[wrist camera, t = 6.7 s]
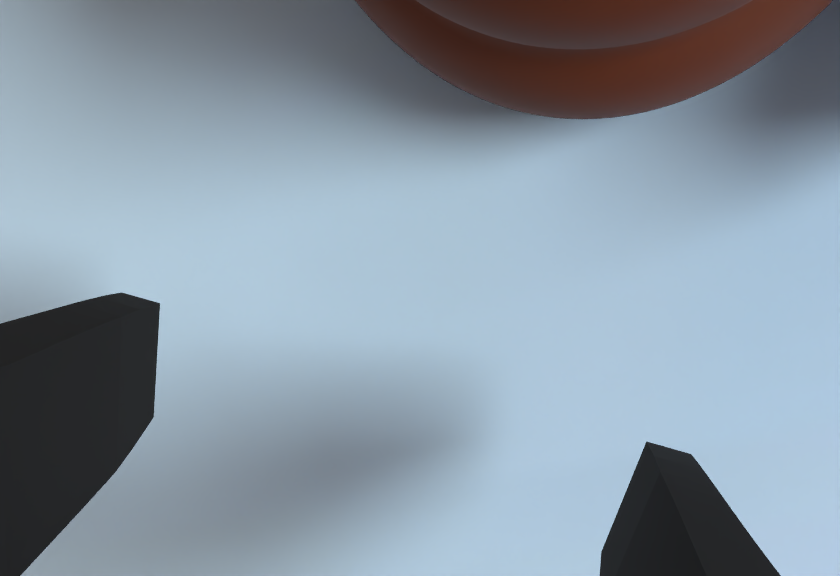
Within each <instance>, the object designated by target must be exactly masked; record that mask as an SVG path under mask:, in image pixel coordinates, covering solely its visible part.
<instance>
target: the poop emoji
mask: <svg viewBox="0 0 840 576" xmlns="http://www.w3.org/2000/svg"><path fill="white" fill-rule="evenodd" d="M355 1H356V2H357V3H358V5H359V6H360V7H361V8H362V9H363V10H364V12H365V13H366V14H367V15H368V16H369V17H370V18H371V20H372V21H373V22H374V23H375V24H376V25H377V26H378V27H379V28H380V29H381V30H382V31H383V32H384V33H385V34H386V35H387V36H388V37H389V38H390V39H391V40H392V41H393V42H395V43H396V44H397V45H398V46H399V47H400V48H401V49H403V50H404V51H405V52H406V53H407V54H409V55H410V56H411V57H412V58H414V59H415V60H416V61H417V62H419V63H420V64H421V65H423V66H424V67H425V68H427V69H428V70H430V71H431V72H433V73H434V74H436V75H437V76H439V77H440V78H442V79H443V80H445V81H447V82H449V83H450V84H452V85H454V86H456V87H458V88H460V89H461V90H463V91H465V92H467V93H469V94H472V95H474V96H476V97H478V98H481V99H483V100H486V101H488V102H491V103H494V104H496V105H499V106H502V107H505V108H509V109H512V110H516V111H520V112H524V113H529V114H534V115H539V116H546V117H554V118H565V119H600V118H611V117H620V116H626V115H632V114H637V113H642V112H647V111H651V110H655V109H658V108H662V107H665V106H668V105H672V104H675V103H677V102H680V101H683V100H686V99H688V98H691V97H693V96H696V95H698V94H700V93H703V92H705V91H707V90H709V89H712V88H714V87H716V86H718V85H720V84H722V83H724V82H726V81H727V80H729V79H731V78H733V77H735V76H737V75H738V74H740V73H742V72H743V71H745V70H747V69H748V68H750V67H752V66H753V65H755V64H756V63H758V62H759V61H761V60H762V59H764V58H765V57H767V56H768V55H769V54H771V53H772V52H773V51H775V50H776V49H778V48H779V47H780V46H782V45H783V44H784V43H785V42H787V41H788V40H789V39H790V38H792V37H793V36H794V35H795V34H797V33H798V32H799V31H800V30H802V29H803V28H804V27H805V26H806V25H807V24H808V23H810V22H811V21H812V20H813V19H814V18H815V17H816V16H817V15H818V14H820V13H821V12H822V11H823V10H824V9H825V8H826V7H827V6H828V5H829V4H830V3H831V2H832V1H833V0H355Z"/></svg>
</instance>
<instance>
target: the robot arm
mask: <svg viewBox="0 0 840 576" xmlns="http://www.w3.org/2000/svg"><path fill="white" fill-rule="evenodd" d="M159 310H160V303H156V302H153V301H149V300H146V299H142V298H139V297H135V296H132V295H128V294H125V293H117V294H111V295H106V296H101V297H97V298H93V299H89V300H85V301H81V302H77V303H73V304H70V305H66V306H62V307H59V308H55V309H52V310H48V311H45V312H41V313H37V314H34V315H30V316H27V317H23V318H19V319H16V320H12V321H9V322H5V323H1V324H0V576H20V575H21V574H22V573H23V572H24V571H25V570H26V569H27V568H28V567H29V566H30V564H31V563H32V562H33V561H34V560H35V559H36V558H37V557H38V556H39V555H40V554H41V553H42V552H43V550H44V549H45V548H46V547H47V546H48V545H49V544H50V543H51V542H52V541H53V540H54V539H55V538H56V536H57V535H58V534H59V533H60V532H61V531H62V530H63V529H64V528H65V527H66V526H67V525H68V524H69V522H70V521H71V520H72V519H73V518H74V517H75V516H76V515H77V514H78V513H79V512H80V511H81V509H82V508H83V507H84V506H85V505H86V504H87V503H88V502H89V501H90V500H91V499H92V497H93V496H94V495H95V494H96V493H97V492H98V491H99V490H100V489H101V488H102V486H103V485H104V484H105V483H106V482H107V481H108V480H109V479H110V477H111V476H112V475H113V474H114V473H115V472H116V471H117V469H118V468H119V467H120V465H121V464H122V462H123V461H124V460H125V458H126V457H127V455H128V454H129V453H130V451H131V450H132V448H133V447H134V446H135V444H136V443H137V441H138V440H139V438H140V437H141V435H142V434H143V432H144V431H145V429H146V428H147V426H148V425H149V423H150V422H151V420H152V419H153V417H154V399H155V381H156V363H157V346H158V328H159ZM600 576H780V574H779V573H778V572H777V570H776V569H775V568H774V566H773V565H772V564H771V563H770V561H769V560H768V559H767V557H766V556H765V555H764V553H763V552H762V551H761V549H760V548H759V547H758V545H757V544H756V543H755V541H754V540H753V538H752V537H751V536H750V534H749V533H748V532H747V530H746V529H745V528H744V526H743V525H742V523H741V522H740V521H739V519H738V518H737V516H736V515H735V514H734V512H733V511H732V509H731V508H730V507H729V505H728V504H727V502H726V501H725V500H724V498H723V497H722V495H721V494H720V493H719V491H718V490H717V488H716V487H715V486H714V484H713V483H712V481H711V480H710V479H709V477H708V476H707V474H706V473H705V472H704V470H703V469H702V468H701V466H700V465H699V464H698V462H697V461H696V460H695V459H694V457H693V456H692V455H691V454H688V453H685V452H681V451H678V450H674V449H671V448H667V447H664V446H660V445H657V444H653V443H650V442H646V444H645V447H644V449H643V452H642V454H641V457H640V459H639V461H638V464H637V466H636V469H635V471H634V474H633V476H632V479H631V481H630V483H629V486H628V488H627V491H626V493H625V496H624V498H623V501H622V503H621V505H620V508H619V510H618V513H617V515H616V518H615V520H614V523H613V525H612V527H611V530H610V532H609V535H608V537H607V540H606V542H605V545H604V547H603V549H602V553H601V566H600Z"/></svg>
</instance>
